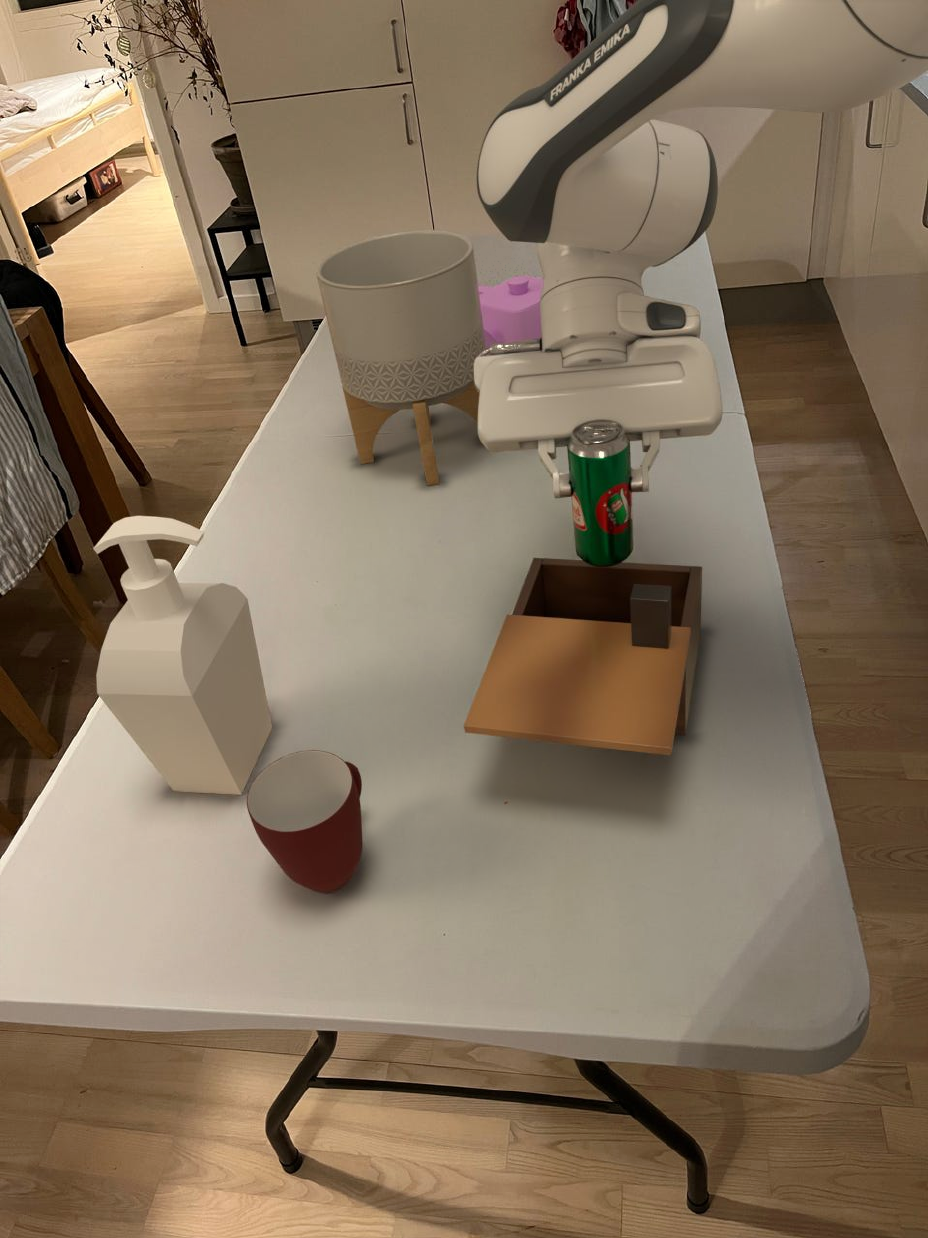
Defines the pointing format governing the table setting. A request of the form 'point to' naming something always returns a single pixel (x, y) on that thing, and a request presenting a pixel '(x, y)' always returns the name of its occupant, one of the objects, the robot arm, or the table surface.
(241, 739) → the soap bottle
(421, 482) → the table surface
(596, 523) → the soda can
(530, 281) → the teakettle
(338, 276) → the planter
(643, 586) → the sliding lid
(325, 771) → the mug
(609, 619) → the storage box
